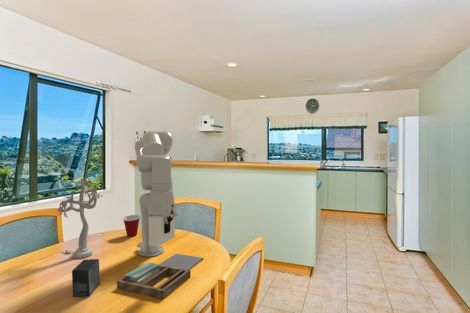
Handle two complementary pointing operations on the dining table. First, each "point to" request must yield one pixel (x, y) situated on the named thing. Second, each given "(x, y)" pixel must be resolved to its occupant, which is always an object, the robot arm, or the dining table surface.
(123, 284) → the walnut rack
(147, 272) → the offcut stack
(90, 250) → the tree sculpture
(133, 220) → the plastic cup
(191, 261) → the rubber mat
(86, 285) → the small box
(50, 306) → the dining table surface
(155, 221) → the white rectangular block
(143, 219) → the robot arm
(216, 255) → the dining table surface
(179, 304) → the dining table surface
